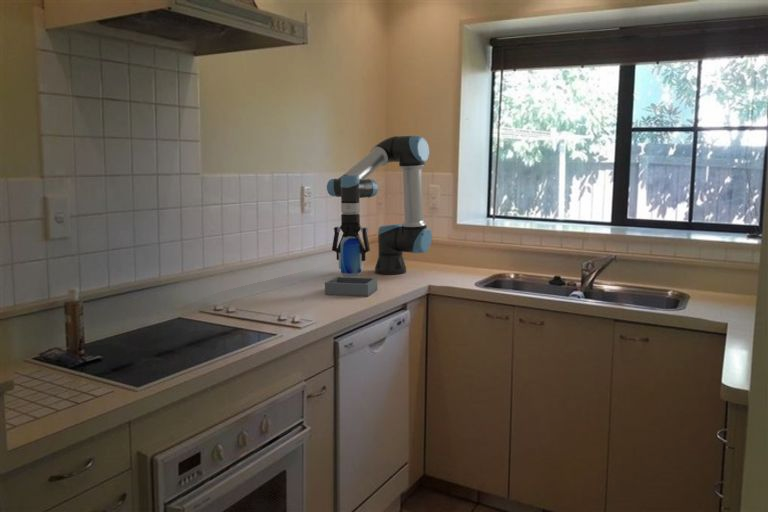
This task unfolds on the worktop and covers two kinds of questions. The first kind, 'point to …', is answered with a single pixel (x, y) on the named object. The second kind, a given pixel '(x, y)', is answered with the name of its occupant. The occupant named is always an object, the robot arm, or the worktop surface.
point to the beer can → (350, 256)
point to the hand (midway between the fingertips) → (351, 268)
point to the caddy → (351, 286)
